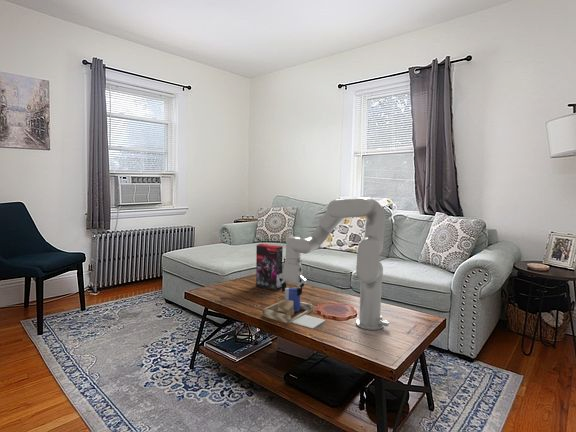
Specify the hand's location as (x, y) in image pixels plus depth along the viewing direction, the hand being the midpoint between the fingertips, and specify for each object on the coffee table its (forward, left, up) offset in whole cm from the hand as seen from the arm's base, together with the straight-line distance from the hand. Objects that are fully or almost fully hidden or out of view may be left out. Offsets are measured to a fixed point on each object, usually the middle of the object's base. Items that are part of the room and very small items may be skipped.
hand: (291, 293), depth 181 cm
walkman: (-1, 0, -9) cm, 9 cm away
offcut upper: (-3, +9, -6) cm, 11 cm away
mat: (-15, +7, -9) cm, 19 cm away
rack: (-1, +4, -9) cm, 10 cm away
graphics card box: (+35, -26, -10) cm, 44 cm away
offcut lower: (-3, +9, -10) cm, 14 cm away
